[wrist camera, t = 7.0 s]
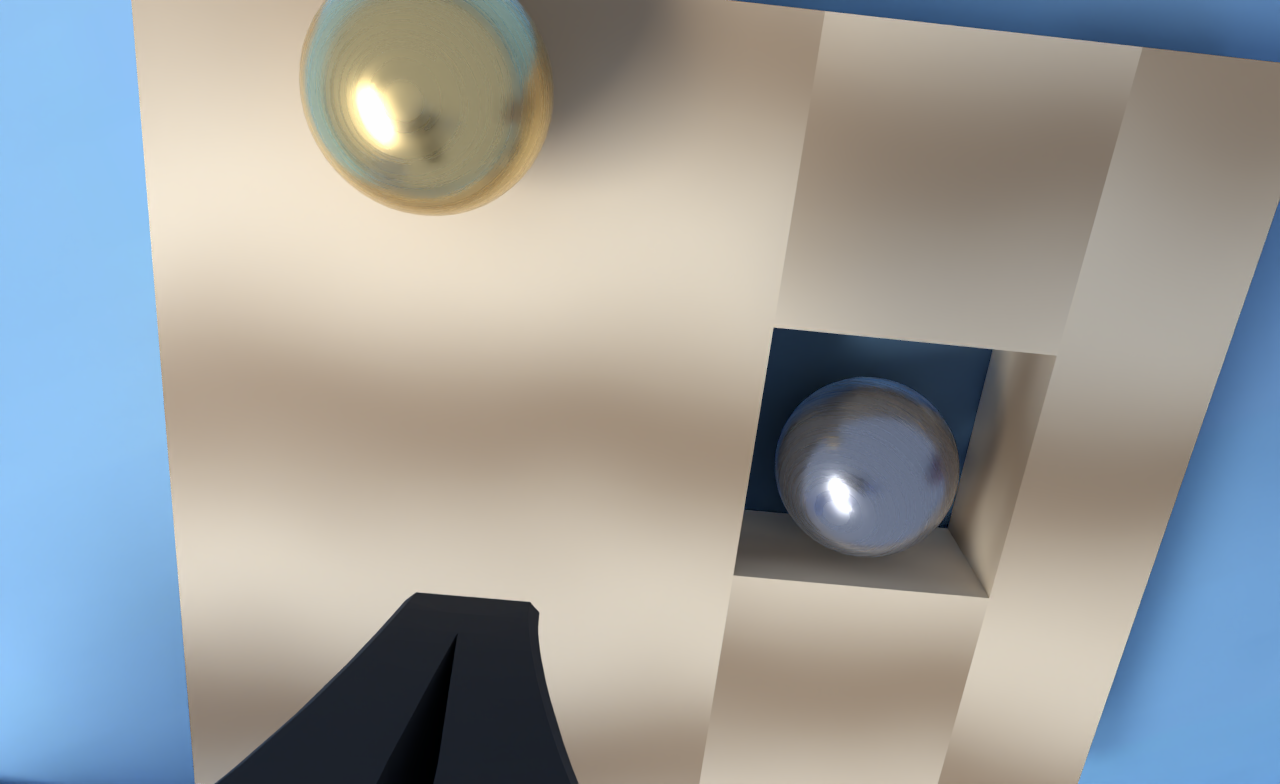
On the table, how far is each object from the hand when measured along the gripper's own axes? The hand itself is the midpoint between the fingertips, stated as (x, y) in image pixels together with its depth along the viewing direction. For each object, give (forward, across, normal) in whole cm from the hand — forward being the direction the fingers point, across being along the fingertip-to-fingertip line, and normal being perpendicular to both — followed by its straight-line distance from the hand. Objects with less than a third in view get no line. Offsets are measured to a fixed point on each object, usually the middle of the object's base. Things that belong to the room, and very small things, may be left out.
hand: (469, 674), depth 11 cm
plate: (+9, -3, 0) cm, 9 cm away
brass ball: (+4, +1, -6) cm, 7 cm away
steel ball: (+7, -6, 0) cm, 9 cm away
